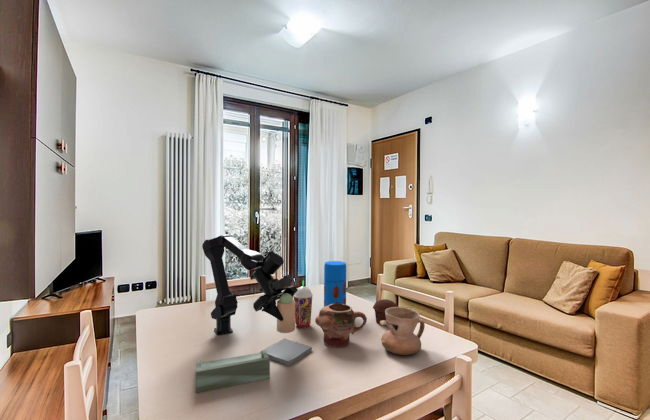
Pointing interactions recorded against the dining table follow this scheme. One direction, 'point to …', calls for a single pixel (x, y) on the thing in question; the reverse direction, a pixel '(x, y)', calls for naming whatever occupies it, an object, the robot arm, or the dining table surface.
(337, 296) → the thermos
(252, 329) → the dining table surface
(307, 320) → the smoothie
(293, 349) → the slate pad
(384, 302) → the muffin
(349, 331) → the decorative planter
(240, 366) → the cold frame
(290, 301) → the green ice cream cone
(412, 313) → the ceramic jug
